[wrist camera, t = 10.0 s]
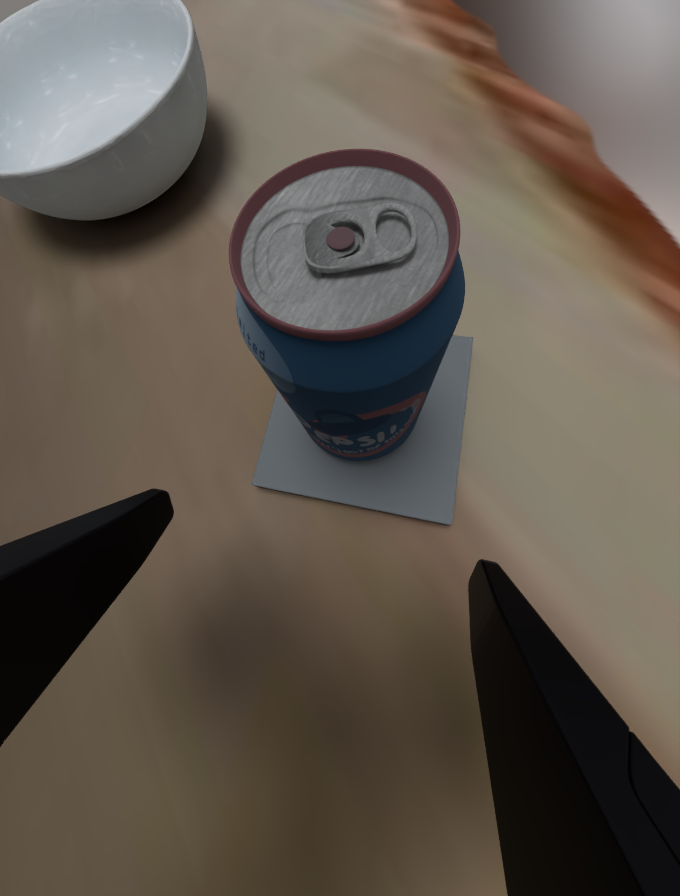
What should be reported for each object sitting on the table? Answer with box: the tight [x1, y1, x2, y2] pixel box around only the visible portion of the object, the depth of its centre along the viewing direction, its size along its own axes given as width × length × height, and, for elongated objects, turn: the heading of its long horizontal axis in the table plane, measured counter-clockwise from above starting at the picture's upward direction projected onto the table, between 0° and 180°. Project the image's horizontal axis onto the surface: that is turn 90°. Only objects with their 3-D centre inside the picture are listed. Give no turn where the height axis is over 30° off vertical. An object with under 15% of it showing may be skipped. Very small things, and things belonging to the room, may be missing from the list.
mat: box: [251, 335, 473, 525], centre depth 19 cm, size 12×12×1 cm
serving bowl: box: [0, 0, 207, 220], centre depth 25 cm, size 21×21×7 cm
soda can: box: [229, 149, 465, 461], centre depth 13 cm, size 7×7×12 cm
